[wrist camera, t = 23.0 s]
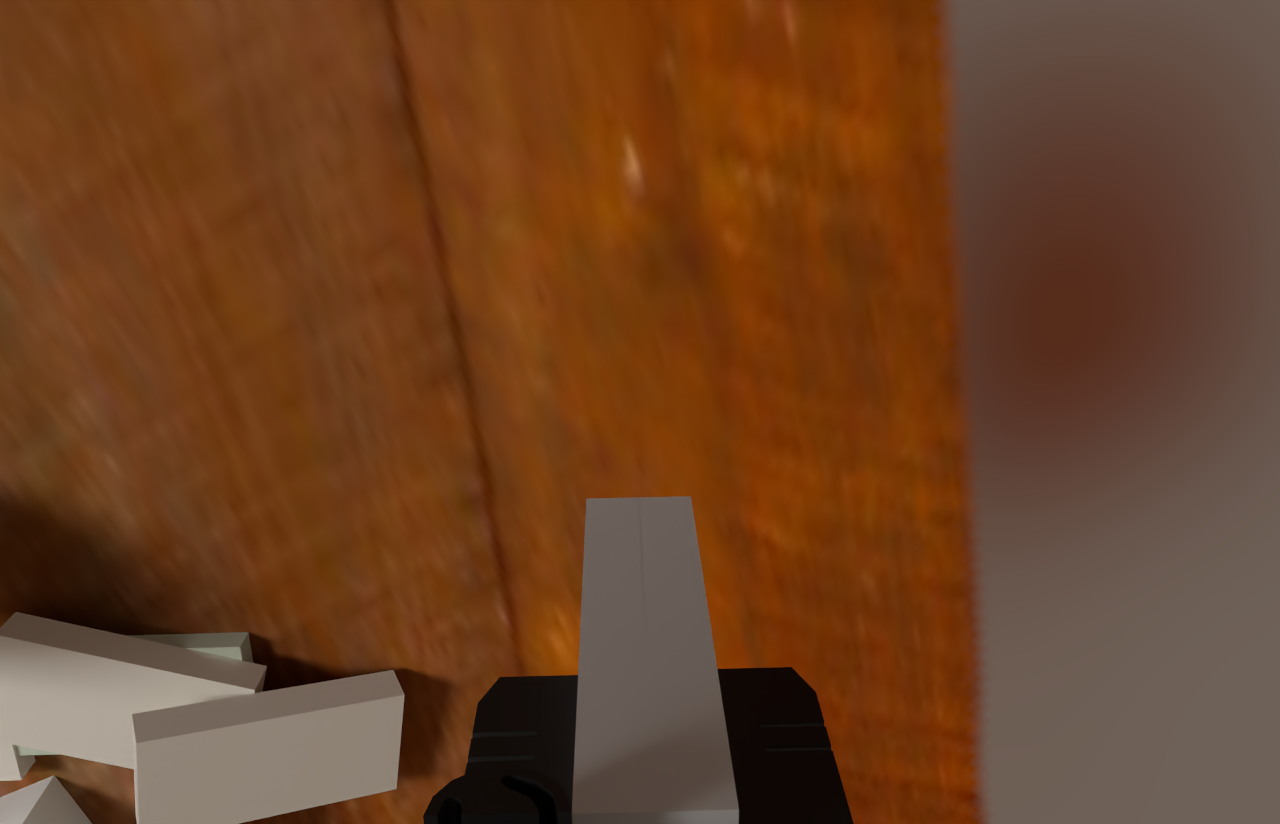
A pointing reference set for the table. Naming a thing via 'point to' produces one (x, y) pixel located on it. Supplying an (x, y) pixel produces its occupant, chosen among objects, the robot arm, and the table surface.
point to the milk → (41, 805)
